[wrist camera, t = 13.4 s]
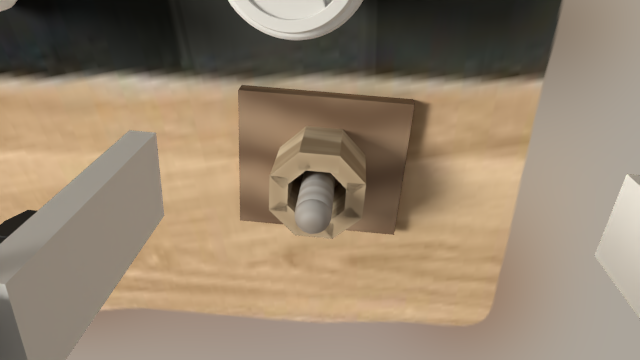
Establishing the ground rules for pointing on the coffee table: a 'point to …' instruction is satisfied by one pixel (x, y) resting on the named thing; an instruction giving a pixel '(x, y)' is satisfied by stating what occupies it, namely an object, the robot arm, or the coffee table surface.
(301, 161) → the collar
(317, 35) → the coffee cup
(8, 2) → the water bottle
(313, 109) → the post base
